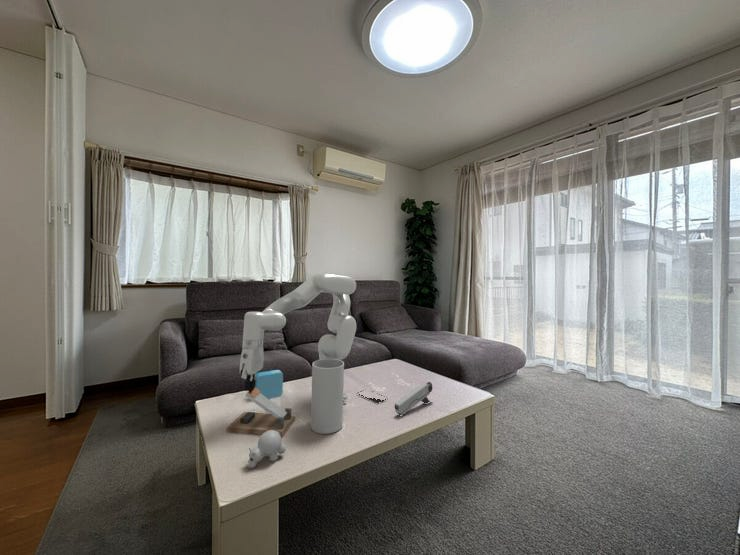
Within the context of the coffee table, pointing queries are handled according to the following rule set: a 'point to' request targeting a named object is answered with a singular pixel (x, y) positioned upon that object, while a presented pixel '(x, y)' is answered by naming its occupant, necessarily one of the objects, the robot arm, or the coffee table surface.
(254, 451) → the chubby cartoon animal
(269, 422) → the latch base
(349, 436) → the coffee table surface
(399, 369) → the coffee table surface
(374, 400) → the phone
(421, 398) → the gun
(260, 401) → the latch lever
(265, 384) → the blue rounded block
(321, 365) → the cylinder vase
